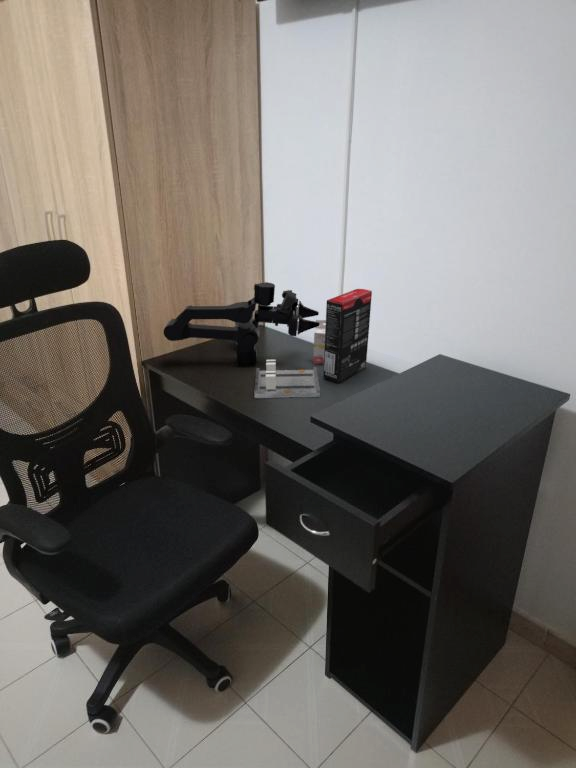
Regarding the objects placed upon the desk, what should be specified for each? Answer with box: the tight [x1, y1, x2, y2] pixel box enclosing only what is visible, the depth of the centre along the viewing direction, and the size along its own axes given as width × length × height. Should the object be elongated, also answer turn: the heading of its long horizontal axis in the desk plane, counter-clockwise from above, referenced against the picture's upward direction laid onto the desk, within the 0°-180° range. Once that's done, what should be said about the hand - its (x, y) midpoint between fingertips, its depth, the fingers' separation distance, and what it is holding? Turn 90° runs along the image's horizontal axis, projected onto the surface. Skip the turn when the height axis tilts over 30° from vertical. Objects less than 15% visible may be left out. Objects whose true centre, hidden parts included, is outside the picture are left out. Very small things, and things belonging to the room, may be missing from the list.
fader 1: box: [265, 359, 277, 372], centre depth 177 cm, size 3×4×5 cm
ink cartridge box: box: [313, 319, 326, 365], centre depth 189 cm, size 9×5×15 cm, turn 84°
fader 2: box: [265, 370, 276, 390], centre depth 169 cm, size 3×4×5 cm
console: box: [253, 366, 321, 399], centre depth 175 cm, size 20×17×2 cm
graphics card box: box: [322, 288, 373, 384], centre depth 177 cm, size 17×7×27 cm, turn 141°
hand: (318, 318), depth 184 cm, fingers open, 9 cm apart
